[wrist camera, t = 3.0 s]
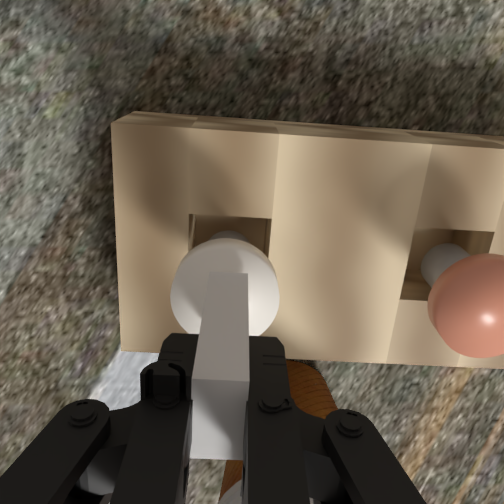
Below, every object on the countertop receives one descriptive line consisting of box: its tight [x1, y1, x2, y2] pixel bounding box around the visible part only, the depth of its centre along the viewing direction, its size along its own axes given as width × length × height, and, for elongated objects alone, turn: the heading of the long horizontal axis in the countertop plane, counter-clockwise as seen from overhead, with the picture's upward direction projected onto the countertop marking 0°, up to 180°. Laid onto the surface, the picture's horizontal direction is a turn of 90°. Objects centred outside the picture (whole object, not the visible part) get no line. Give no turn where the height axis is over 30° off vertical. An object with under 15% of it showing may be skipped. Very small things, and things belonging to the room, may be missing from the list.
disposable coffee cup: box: [218, 360, 338, 504], centre depth 27 cm, size 10×10×12 cm
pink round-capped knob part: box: [421, 243, 504, 358], centre depth 22 cm, size 4×4×5 cm
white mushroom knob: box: [170, 230, 280, 336], centre depth 21 cm, size 4×4×5 cm
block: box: [111, 111, 504, 369], centre depth 26 cm, size 22×12×5 cm, turn 86°
